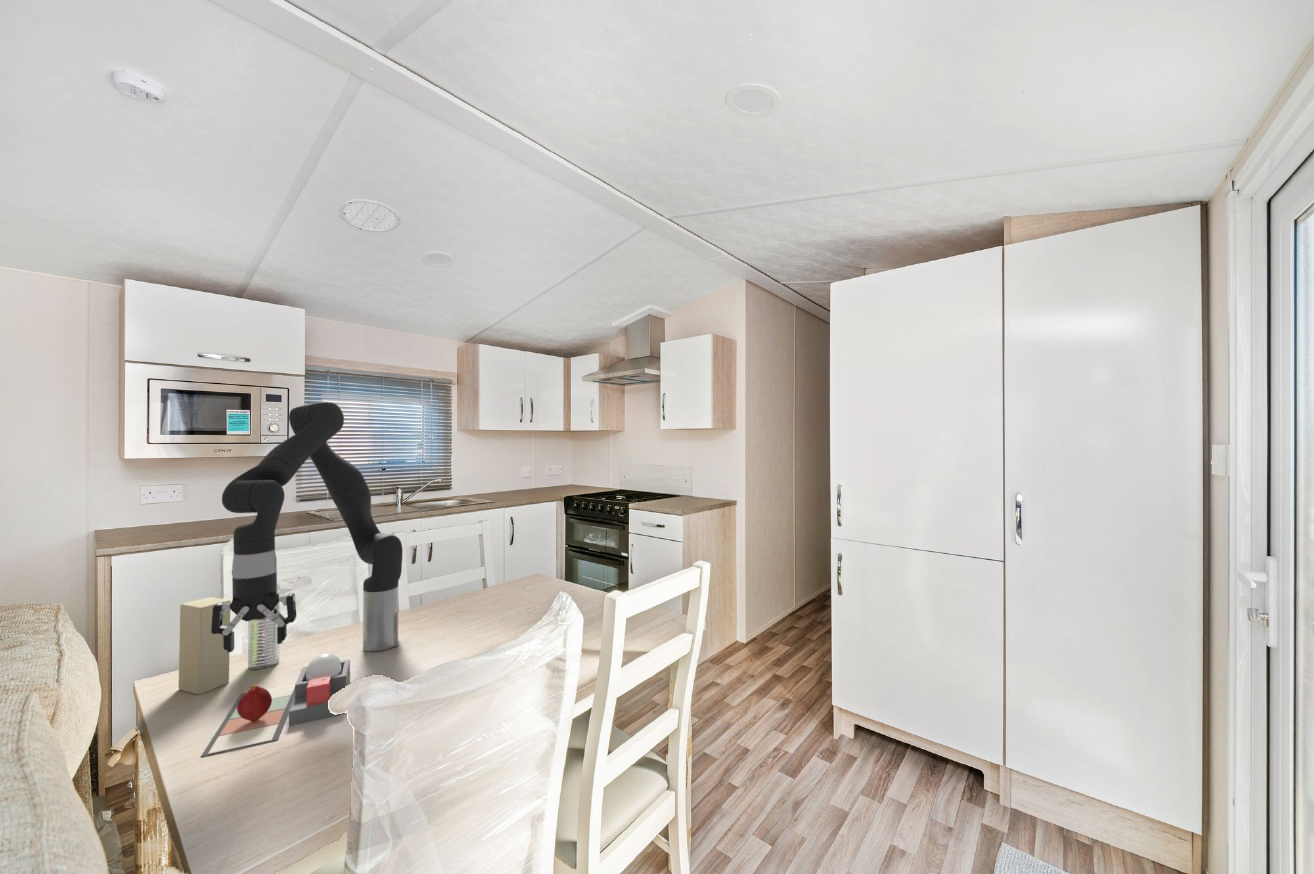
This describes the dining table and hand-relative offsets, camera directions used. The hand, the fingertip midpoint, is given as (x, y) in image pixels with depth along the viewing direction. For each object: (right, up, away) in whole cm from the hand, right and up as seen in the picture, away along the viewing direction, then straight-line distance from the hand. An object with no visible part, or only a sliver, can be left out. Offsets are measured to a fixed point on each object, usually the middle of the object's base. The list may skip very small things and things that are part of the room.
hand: (255, 646), depth 109 cm
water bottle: (-20, -17, +28) cm, 39 cm away
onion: (0, -16, 0) cm, 16 cm away
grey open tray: (+9, -17, +8) cm, 21 cm away
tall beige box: (-26, -17, +17) cm, 35 cm away
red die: (+11, -14, +4) cm, 18 cm away
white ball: (+7, -14, +11) cm, 19 cm away
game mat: (-2, -17, +3) cm, 17 cm away
